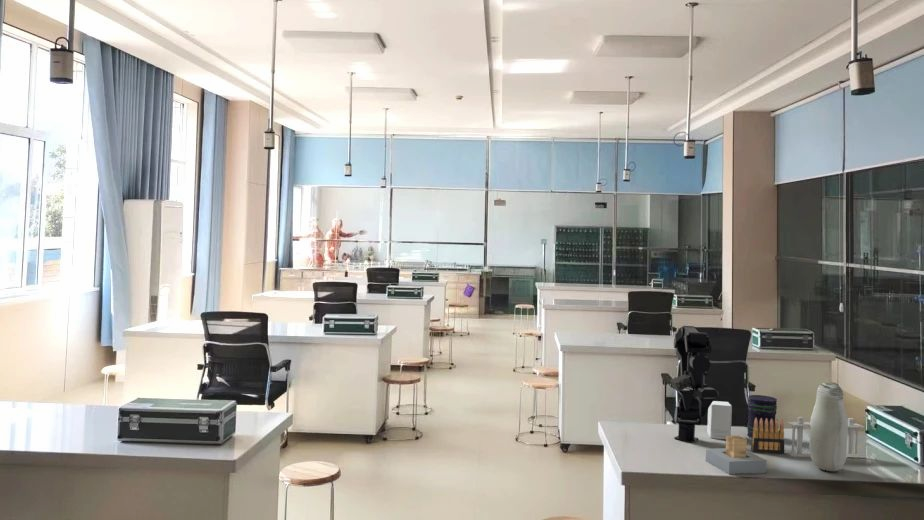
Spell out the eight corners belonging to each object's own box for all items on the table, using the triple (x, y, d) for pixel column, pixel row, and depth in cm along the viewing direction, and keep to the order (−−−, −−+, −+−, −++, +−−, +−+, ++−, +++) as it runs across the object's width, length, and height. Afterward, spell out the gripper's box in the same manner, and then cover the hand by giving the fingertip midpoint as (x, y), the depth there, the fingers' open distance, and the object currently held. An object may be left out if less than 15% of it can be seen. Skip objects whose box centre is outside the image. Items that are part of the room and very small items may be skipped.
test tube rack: (855, 454, 232) (857, 417, 232) (863, 458, 227) (865, 420, 227) (785, 453, 231) (786, 415, 231) (791, 457, 227) (793, 418, 226)
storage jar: (780, 441, 245) (782, 401, 244) (753, 440, 245) (755, 400, 244) (768, 434, 255) (769, 395, 254) (742, 433, 255) (744, 394, 254)
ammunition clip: (782, 452, 231) (783, 418, 231) (784, 454, 229) (786, 419, 229) (750, 450, 232) (752, 416, 232) (752, 452, 230) (754, 418, 230)
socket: (705, 460, 219) (706, 448, 219) (741, 459, 221) (741, 447, 221) (728, 474, 206) (729, 461, 206) (766, 472, 208) (766, 460, 208)
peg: (725, 463, 215) (726, 435, 215) (737, 462, 216) (738, 435, 216) (733, 467, 211) (734, 439, 211) (745, 467, 212) (746, 439, 212)
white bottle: (852, 473, 210) (856, 386, 210) (826, 476, 207) (830, 387, 207) (827, 463, 220) (831, 379, 219) (802, 465, 217) (805, 380, 216)
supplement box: (731, 440, 245) (732, 406, 244) (709, 438, 246) (711, 404, 246) (727, 434, 252) (728, 401, 252) (706, 432, 253) (708, 400, 253)
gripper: (660, 364, 236) (659, 407, 236) (689, 373, 218) (688, 420, 218) (688, 364, 238) (687, 407, 238) (720, 373, 220) (718, 420, 220)
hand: (694, 413), depth 229 cm, fingers open, 9 cm apart
